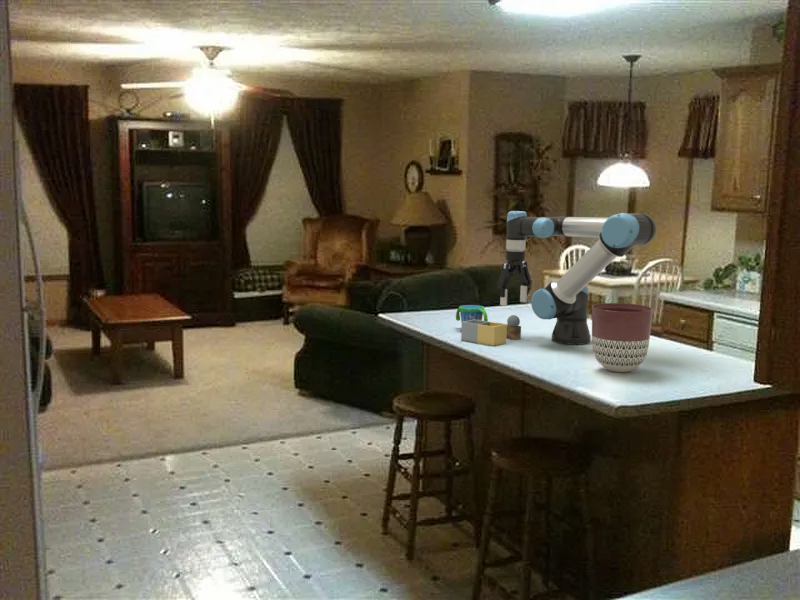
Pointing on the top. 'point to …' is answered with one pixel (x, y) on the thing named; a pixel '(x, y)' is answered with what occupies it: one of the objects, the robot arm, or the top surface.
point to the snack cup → (471, 313)
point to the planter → (620, 335)
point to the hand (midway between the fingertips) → (513, 303)
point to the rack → (513, 332)
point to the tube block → (484, 332)
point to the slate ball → (513, 321)
